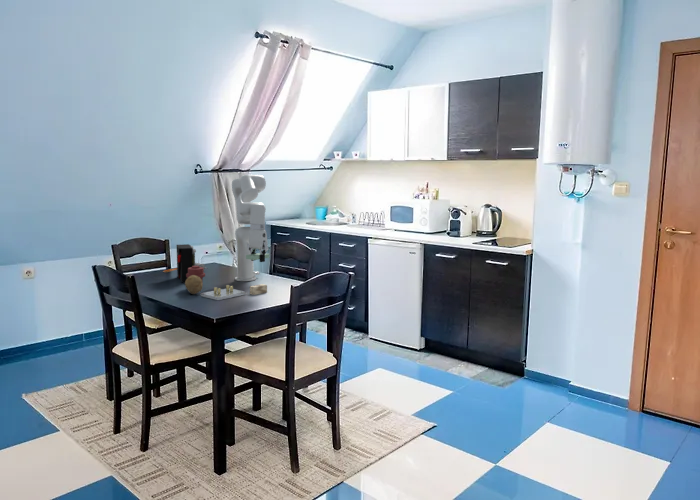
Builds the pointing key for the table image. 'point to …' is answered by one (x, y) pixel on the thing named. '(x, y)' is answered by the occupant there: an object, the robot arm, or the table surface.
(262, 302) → the table surface
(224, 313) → the table surface
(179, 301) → the table surface
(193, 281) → the natural sponge
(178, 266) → the electrical component
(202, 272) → the mechanical component
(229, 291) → the plate
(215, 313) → the table surface
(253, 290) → the oak block
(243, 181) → the robot arm
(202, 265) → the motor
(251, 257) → the board
